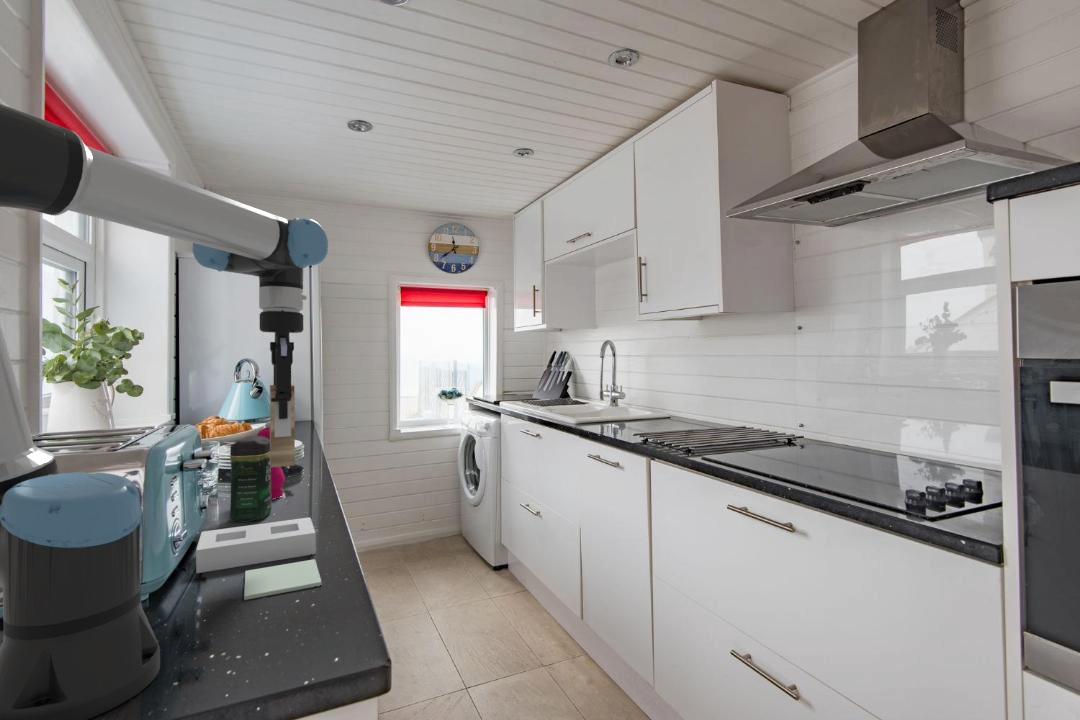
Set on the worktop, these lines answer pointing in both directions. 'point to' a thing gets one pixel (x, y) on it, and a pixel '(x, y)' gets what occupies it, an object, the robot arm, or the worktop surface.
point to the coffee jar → (250, 479)
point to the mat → (281, 579)
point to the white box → (255, 544)
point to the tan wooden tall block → (282, 446)
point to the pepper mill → (274, 469)
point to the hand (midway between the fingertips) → (282, 434)
